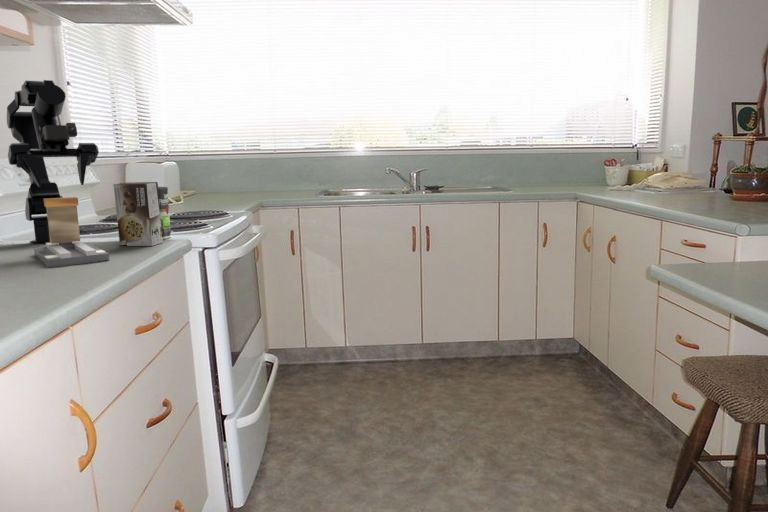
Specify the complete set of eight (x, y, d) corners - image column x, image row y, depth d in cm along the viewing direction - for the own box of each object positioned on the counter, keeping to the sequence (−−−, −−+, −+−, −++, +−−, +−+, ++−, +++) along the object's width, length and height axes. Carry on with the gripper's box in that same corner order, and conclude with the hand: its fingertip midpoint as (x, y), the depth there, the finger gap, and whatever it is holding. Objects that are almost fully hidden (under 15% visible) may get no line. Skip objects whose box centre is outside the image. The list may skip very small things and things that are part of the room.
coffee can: (176, 235, 172) (173, 186, 170) (163, 240, 162) (159, 188, 159) (141, 235, 172) (137, 186, 170) (125, 241, 162) (120, 189, 160)
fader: (48, 247, 141) (43, 198, 139) (79, 244, 145) (74, 197, 143) (51, 249, 138) (45, 199, 136) (82, 246, 142) (77, 197, 140)
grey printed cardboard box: (163, 242, 159) (159, 181, 156) (152, 246, 153) (147, 183, 150) (131, 242, 160) (125, 181, 157) (118, 246, 154) (112, 183, 151)
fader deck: (34, 254, 142) (33, 244, 142) (89, 249, 149) (88, 239, 149) (48, 267, 127) (47, 255, 126) (109, 260, 134) (108, 249, 133)
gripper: (6, 108, 134) (19, 170, 130) (95, 110, 145) (110, 168, 142) (2, 133, 142) (15, 193, 139) (87, 134, 154) (100, 188, 150)
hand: (61, 185), depth 142 cm, fingers open, 9 cm apart
